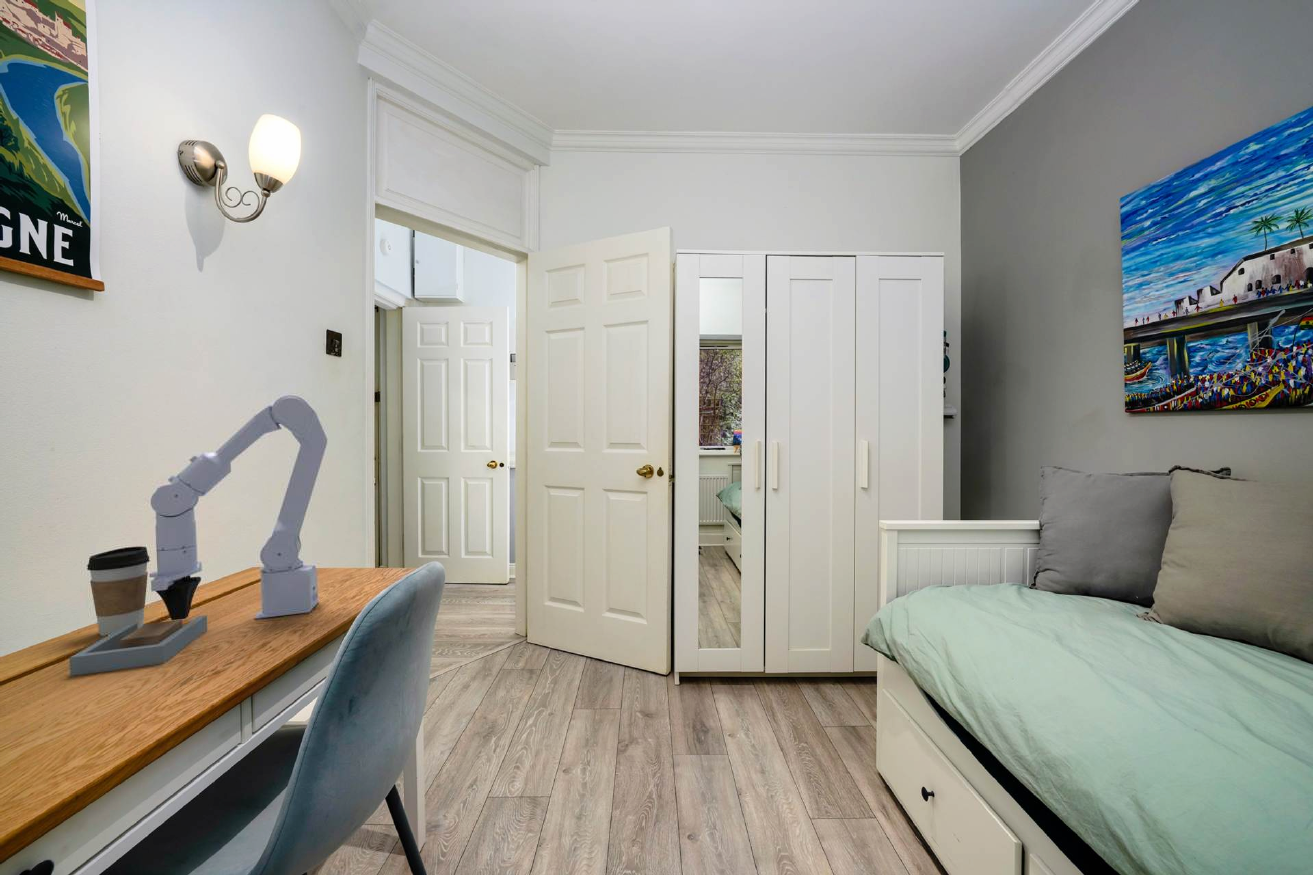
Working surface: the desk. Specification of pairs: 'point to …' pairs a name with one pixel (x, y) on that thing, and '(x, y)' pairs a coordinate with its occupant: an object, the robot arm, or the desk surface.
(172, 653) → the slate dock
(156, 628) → the walnut block
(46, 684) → the desk surface
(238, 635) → the desk surface
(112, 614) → the coffee cup
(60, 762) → the desk surface
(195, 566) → the robot arm
